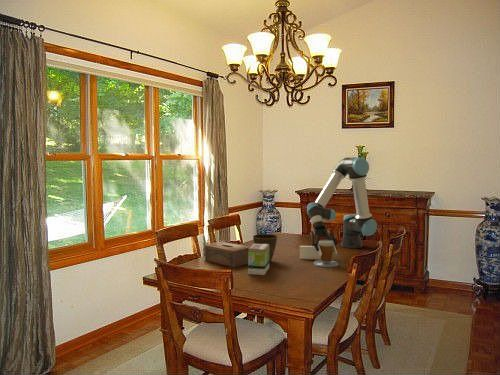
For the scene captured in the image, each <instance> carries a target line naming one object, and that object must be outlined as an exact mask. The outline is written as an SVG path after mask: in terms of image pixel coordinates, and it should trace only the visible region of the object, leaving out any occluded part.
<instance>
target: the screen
mask: <svg viewBox="0 0 500 375" xmlns="http://www.w3.org/2000/svg"><path fill="white" fill-rule="evenodd" d="M299 259H300V260H321V257H320V256H319V253H318V251H316V248H315V247H314V246H312V245H300V246H299Z"/></svg>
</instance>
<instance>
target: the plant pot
mask: <svg viewBox="0 0 500 375" xmlns="http://www.w3.org/2000/svg"><path fill="white" fill-rule="evenodd" d="M252 237H253V244H269V263H271V262H272V259H273V257H274V255H275V250H276V245H277V240H278V236H277V235H276V234H268V233H260V234H254V235H253V236H252Z"/></svg>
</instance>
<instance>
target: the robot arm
mask: <svg viewBox="0 0 500 375" xmlns="http://www.w3.org/2000/svg"><path fill="white" fill-rule="evenodd" d="M369 171H370V164H369V162H368V160H367V159H366V158H364V157H344V158H342V159H341V160H340V161H339V162H338V163H337V164H336V165H335V166H334V167H333V170H332V171H331V172H332V173H331V175H330V177H329V179H328V180H327V182H326V183H325V185H324V187H323V188H322V190H321V191H320V193H319V194H318V196H317V198H316V200H315V201H314V202H313V201H312V202H310V203H308V204H307V206H306V214H307V216H308V217H309V220H310V223H311V225H312V228H313V230H311V231H310V232H309V234H310V239H311V240H310V241H311V245H310V246H314V247H315V248H316V251H318V253H319V256H320V257H321V255H322V252H321V249H320V246H319V244H318V243H319V241H320V238H324V240H332V241H333V242H334V245H333V252H332V253H333V254H334V256H337V255H338V251H337V250H338V247H337V245H338V243H339V242H338V240H337V238H336V237H335V235H334V234H333V232H332V230H331V229H330V230H328V229H327V228H326V224H325V222H324V221H331V222H332V221H334V220H335V219H336V217H337V216H336V215H337V214H336V211H335V209H331V208H326V205H327V204H328V203H329V200H330V199H331V198H332V196H333V194H334V193H335V191H336V189H337V188H338V187H339V185H340V184H341V182H342V180H344V179H345V178H346V177H347V176H348V178H349V180H350V181H351V183H352V184H351V185H352V192H353V198H354V205H355V211H356V212H355V214H353V213H352V214H344V216H343V222H342V223H343V225H342V229H343V232H342V233H343V235H342V239H341V241H340V246H341V248H346V249H361V248H363V242H362V238H361V236H365V237H369V236H372V235H374V234H375V232H376V231H377V230H378V229H377V228H378V224H377V221H376V220H375V219H373V214H372V213H370V208H369V207H370V206H369V201H368V199H369V198H368V194H367V193H368V192H367V186H366V178H367V177H368V175H367V174H369ZM315 235H316V239H315Z"/></svg>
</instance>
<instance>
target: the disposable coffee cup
mask: <svg viewBox="0 0 500 375" xmlns="http://www.w3.org/2000/svg"><path fill="white" fill-rule="evenodd" d="M318 245H319V246H320V249H321V252H322V255H321V261H323V262H330V261H331V260H332V261H333V259H332V258H333V253H334V252H333V245H334V242H333V241H332V240H327V239H319V241H318Z"/></svg>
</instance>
